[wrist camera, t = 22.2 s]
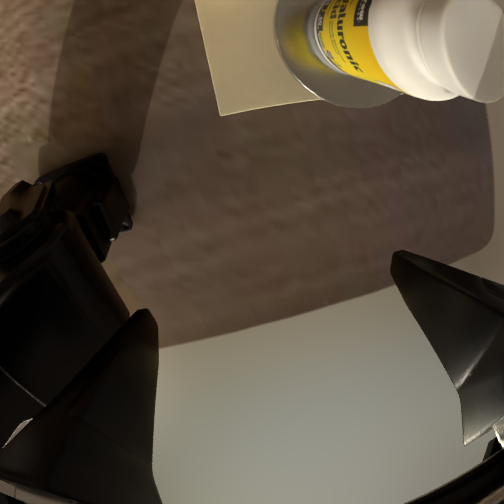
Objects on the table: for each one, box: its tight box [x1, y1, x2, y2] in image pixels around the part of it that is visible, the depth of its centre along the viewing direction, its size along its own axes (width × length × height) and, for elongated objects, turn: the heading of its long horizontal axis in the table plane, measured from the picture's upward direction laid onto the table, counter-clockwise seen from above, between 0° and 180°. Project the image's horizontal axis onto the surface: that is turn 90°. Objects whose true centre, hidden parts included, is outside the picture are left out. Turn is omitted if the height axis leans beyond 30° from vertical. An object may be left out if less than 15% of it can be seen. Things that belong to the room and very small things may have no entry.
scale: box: [195, 0, 403, 116], centre depth 13 cm, size 14×14×3 cm
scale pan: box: [273, 0, 403, 109], centre depth 13 cm, size 10×10×1 cm
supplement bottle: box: [314, 0, 504, 103], centre depth 9 cm, size 5×5×10 cm
